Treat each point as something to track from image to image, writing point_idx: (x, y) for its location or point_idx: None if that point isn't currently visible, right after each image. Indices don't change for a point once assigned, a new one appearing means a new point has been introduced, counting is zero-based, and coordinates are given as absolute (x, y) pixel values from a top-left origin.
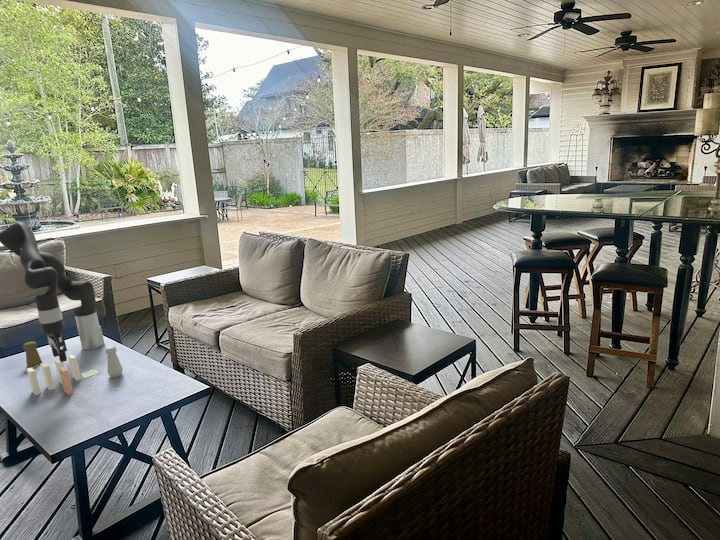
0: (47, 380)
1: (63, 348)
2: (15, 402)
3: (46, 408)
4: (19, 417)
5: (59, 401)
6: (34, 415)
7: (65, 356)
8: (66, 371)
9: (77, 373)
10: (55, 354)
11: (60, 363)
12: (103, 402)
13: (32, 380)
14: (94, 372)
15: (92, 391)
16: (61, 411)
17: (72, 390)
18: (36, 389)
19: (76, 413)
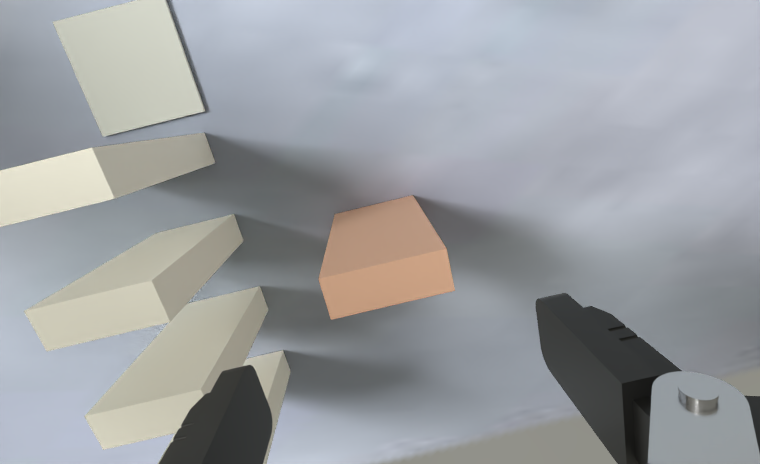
0: (250, 347)
1: (746, 456)
2: (316, 446)
3: (513, 325)
4: (515, 423)
5: (475, 268)
6: (549, 370)
7: (634, 333)
8: (446, 258)
9: (189, 154)
10: (258, 426)
11: (169, 299)
12: (709, 40)
13: (270, 443)
14: (132, 30)
15: (480, 84)
16: (615, 262)
17: (415, 200)
18: (281, 384)
19: (711, 196)
